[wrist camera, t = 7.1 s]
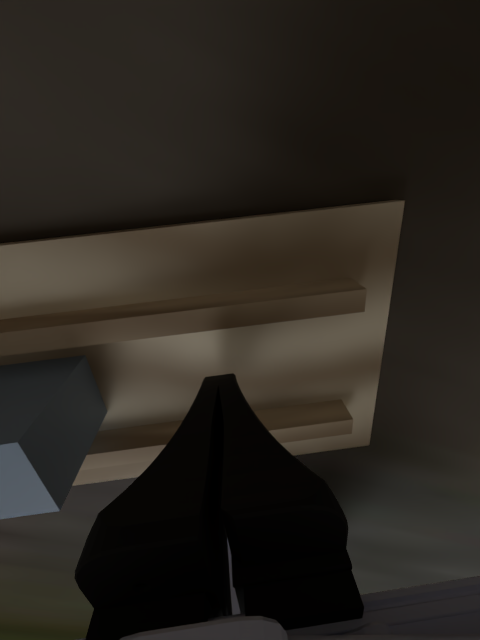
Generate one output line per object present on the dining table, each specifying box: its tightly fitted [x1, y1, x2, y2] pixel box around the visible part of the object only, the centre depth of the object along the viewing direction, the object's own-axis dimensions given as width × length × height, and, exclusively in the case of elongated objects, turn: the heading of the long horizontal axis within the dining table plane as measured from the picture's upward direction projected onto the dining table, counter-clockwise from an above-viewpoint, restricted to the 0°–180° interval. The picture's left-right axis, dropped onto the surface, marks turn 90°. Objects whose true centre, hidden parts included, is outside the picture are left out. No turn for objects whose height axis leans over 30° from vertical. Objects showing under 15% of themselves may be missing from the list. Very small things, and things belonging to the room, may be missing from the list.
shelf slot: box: [0, 200, 405, 486], centre depth 11 cm, size 14×26×8 cm, turn 95°
